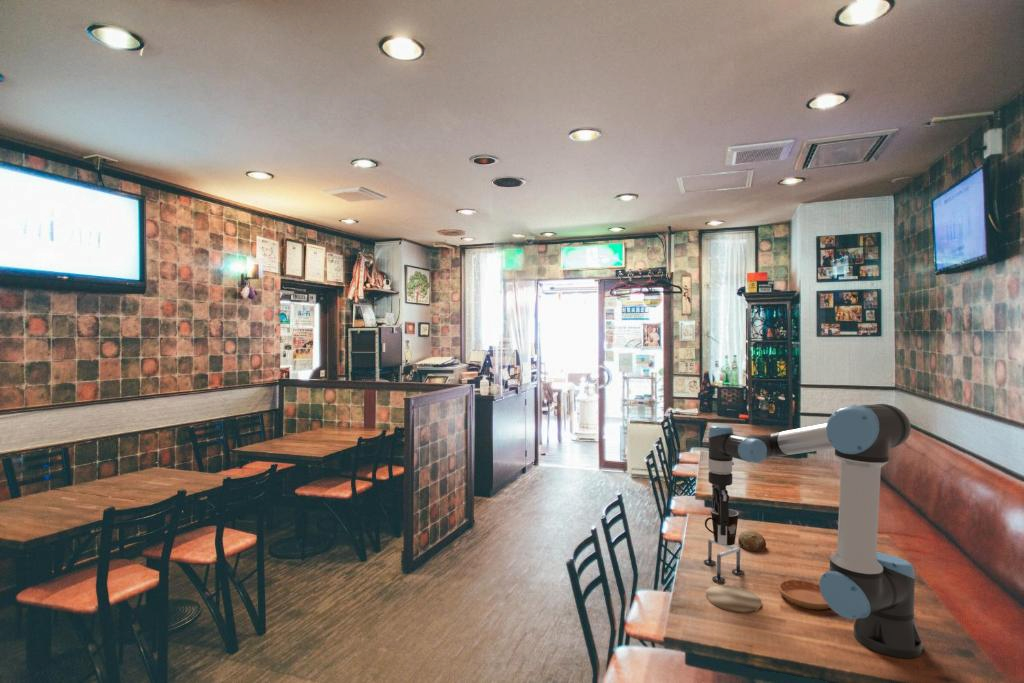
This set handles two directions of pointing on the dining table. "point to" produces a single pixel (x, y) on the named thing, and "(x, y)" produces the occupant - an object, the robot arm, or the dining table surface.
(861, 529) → the robot arm
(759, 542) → the bread roll
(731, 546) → the bent wire
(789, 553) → the dining table surface
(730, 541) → the coffee mug
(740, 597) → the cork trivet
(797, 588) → the saucer
